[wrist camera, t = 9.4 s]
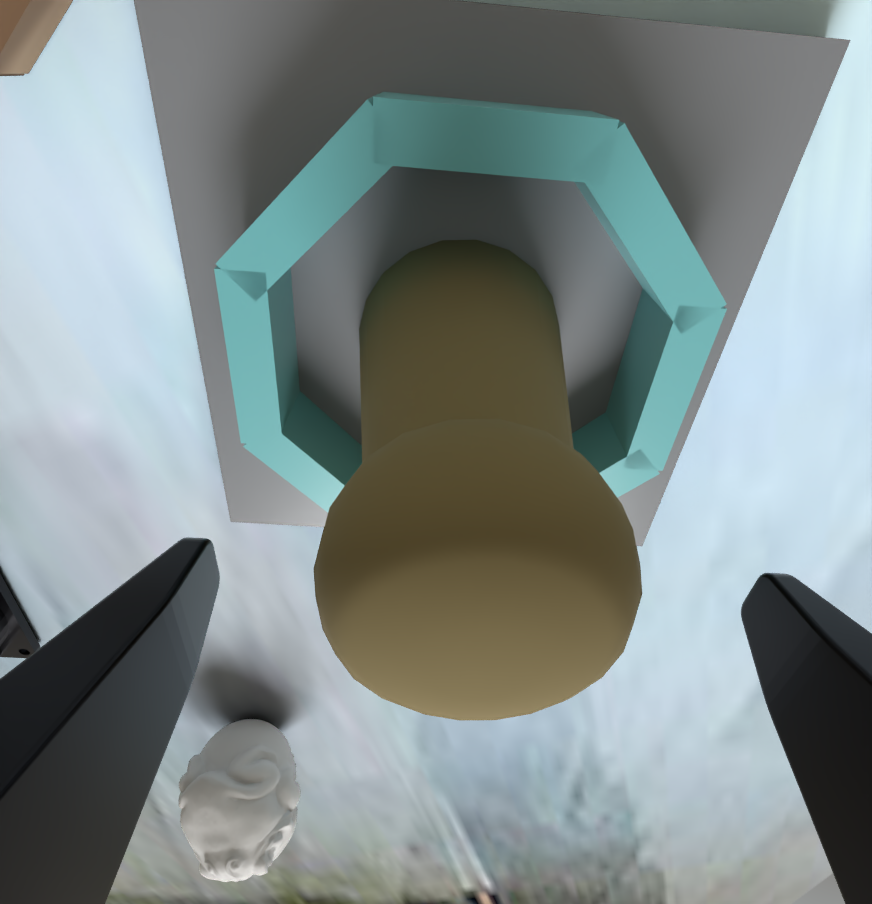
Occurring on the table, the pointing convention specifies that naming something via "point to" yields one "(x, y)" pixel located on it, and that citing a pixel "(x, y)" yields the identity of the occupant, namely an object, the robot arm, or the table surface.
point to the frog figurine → (240, 800)
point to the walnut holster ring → (26, 32)
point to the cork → (472, 502)
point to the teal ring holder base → (466, 206)
